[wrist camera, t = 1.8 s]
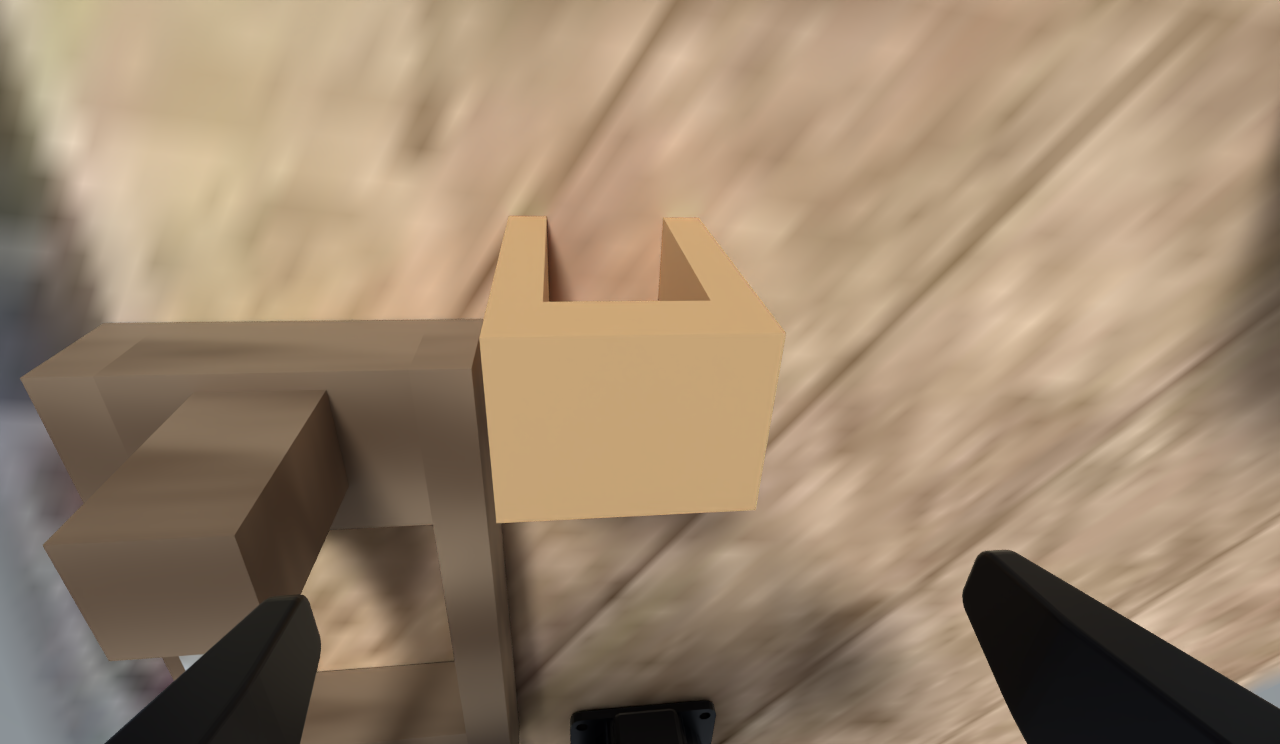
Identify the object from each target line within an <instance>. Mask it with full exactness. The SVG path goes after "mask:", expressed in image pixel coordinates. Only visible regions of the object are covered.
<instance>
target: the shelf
mask: <svg viewBox="0 0 1280 744" xmlns="http://www.w3.org/2000/svg"><path fill="white" fill-rule="evenodd" d="M482 324H483V319H455V320H361V321H268V322H174V323H103V324H102V325H100V326H99V327H97V328H96V329H94V330H93V331H91V332H90V333H88V334H87V335H85V336H83V337H82V338H80V339H79V340H77V341H76V342H74V343H73V344H71V345H70V346H68V347H67V348H65V349H64V350H62V351H61V352H59V353H58V354H56V355H54V356H53V357H51V358H50V359H48V360H47V361H45V362H44V363H42V364H41V365H39V366H38V367H36V368H35V369H33V370H32V371H30V372H28V373H27V374H25V375H24V376H22V377H21V378H20V379H21V381H22V383H23V385H24V387H25V389H26V391H27V393H28V395H29V397H30V398H31V400H32V402H33V404H34V406H35V408H36V410H37V412H38V414H39V416H40V418H41V420H42V422H43V424H44V426H45V428H46V430H47V432H48V434H49V436H50V438H51V440H52V442H53V444H54V446H55V448H56V450H57V452H58V454H59V456H60V457H61V459H62V461H63V463H64V465H65V467H66V469H67V471H68V473H69V475H70V477H71V479H72V481H73V483H74V485H75V487H76V489H77V491H78V493H79V495H80V497H81V499H82V501H83V503H84V504H83V505H82V506H81V507H80V508H79V509H78V510H77V511H76V512H75V513H74V514H73V515H72V516H71V517H70V518H69V519H68V520H67V521H66V522H65V523H64V524H63V525H62V526H61V527H60V528H59V529H58V530H57V531H56V532H55V533H54V534H53V535H52V536H51V537H50V538H49V539H48V540H47V541H46V542H45V543H44V544H43V547H44V549H45V551H46V552H47V554H48V556H49V558H50V559H51V561H52V563H53V564H54V566H55V568H56V570H57V571H58V573H59V575H60V577H61V578H62V580H63V582H64V584H65V585H66V587H67V589H68V591H69V592H70V594H71V596H72V598H73V599H74V601H75V603H76V604H77V606H78V608H79V610H80V611H81V613H82V615H83V617H84V618H85V620H86V622H87V624H88V625H89V627H90V629H91V631H92V632H93V634H94V636H95V638H96V639H97V641H98V643H99V645H100V646H101V648H102V650H103V651H104V653H105V655H106V657H107V658H108V660H109V661H119V660H132V659H146V658H160V657H162V658H163V660H164V662H165V664H166V666H167V668H168V670H169V672H170V674H171V676H172V678H173V680H174V681H175V680H176V679H177V678H178V677H179V676H180V675H181V674H182V673H184V672H185V671H186V670H187V669H188V668H189V667H190V666H191V665H193V664H194V663H195V662H196V661H197V660H198V659H199V658H200V657H201V656H203V655H204V654H205V653H206V652H207V651H208V650H209V649H210V648H211V647H213V646H214V645H215V644H216V643H217V642H218V641H219V640H220V639H221V638H223V637H224V636H225V635H226V634H227V633H228V632H229V631H230V630H231V629H233V628H234V627H235V626H236V625H237V624H238V623H239V622H240V621H241V620H243V619H244V618H245V617H246V616H247V615H248V614H249V613H250V612H251V611H253V610H254V609H255V608H256V607H257V606H258V605H259V604H260V603H262V602H263V601H264V600H266V599H267V598H269V597H272V596H282V595H297V594H301V592H302V590H303V588H304V585H305V583H306V581H307V579H308V577H309V574H310V572H311V570H312V568H313V565H314V563H315V561H316V559H317V556H318V554H319V552H320V550H321V548H322V545H323V543H324V541H325V539H326V536H327V534H328V532H329V530H336V529H355V528H375V527H395V526H414V525H433V528H434V534H435V541H436V547H437V553H438V560H439V566H440V572H441V578H442V585H443V591H444V597H445V604H446V610H447V616H448V623H449V629H450V635H451V641H452V648H453V654H454V660H455V661H454V662H441V663H428V664H416V665H403V666H390V667H377V668H364V669H351V670H339V671H326V672H316V676H315V681H314V685H313V690H312V694H311V698H310V703H309V707H308V711H307V716H306V720H305V725H304V729H303V733H302V738H301V742H300V744H519V731H520V729H519V718H518V706H517V695H516V684H515V672H514V661H513V650H512V638H511V627H510V616H509V604H508V593H507V581H506V570H505V559H504V547H503V536H502V525H501V523H496V513H495V502H494V491H493V480H492V470H491V459H490V448H489V437H488V427H487V416H486V405H485V394H484V384H483V373H482V362H481V351H480V341H479V337H480V333H481V328H482Z"/></svg>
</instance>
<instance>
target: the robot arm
mask: <svg viewBox="0 0 1280 744" xmlns="http://www.w3.org/2000/svg"><path fill="white" fill-rule="evenodd" d="M962 598H963V605H964V608H965V611H966V613H967V616H968V618H969V620H970V622H971V625H972V627H973V629H974V632H975V634H976V636H977V638H978V641H979V643H980V645H981V647H982V650H983V652H984V654H985V656H986V659H987V661H988V663H989V666H990V668H991V670H992V672H993V675H994V677H995V679H996V681H997V684H998V686H999V688H1000V690H1001V693H1002V695H1003V697H1004V699H1005V702H1006V704H1007V706H1008V708H1009V710H1010V712H1011V714H1012V716H1013V718H1014V720H1015V722H1016V724H1017V726H1018V728H1019V730H1020V731H1021V733H1022V735H1023V737H1024V739H1025V741H1026V742H1027V744H1280V709H1279V708H1278V707H1276V706H1274V705H1273V704H1271V703H1269V702H1267V701H1266V700H1264V699H1262V698H1260V697H1259V696H1257V695H1256V694H1254V693H1252V692H1251V691H1249V690H1247V689H1246V688H1244V687H1242V686H1240V685H1239V684H1237V683H1235V682H1234V681H1232V680H1230V679H1229V678H1227V677H1225V676H1224V675H1222V674H1220V673H1219V672H1217V671H1215V670H1213V669H1212V668H1210V667H1208V666H1207V665H1205V664H1203V663H1202V662H1200V661H1198V660H1197V659H1195V658H1193V657H1192V656H1190V655H1188V654H1186V653H1185V652H1183V651H1181V650H1180V649H1178V648H1176V647H1175V646H1173V645H1171V644H1170V643H1168V642H1166V641H1165V640H1163V639H1161V638H1159V637H1158V636H1156V635H1154V634H1153V633H1151V632H1149V631H1148V630H1146V629H1144V628H1143V627H1141V626H1139V625H1138V624H1136V623H1134V622H1132V621H1131V620H1129V619H1127V618H1126V617H1124V616H1122V615H1121V614H1119V613H1117V612H1116V611H1114V610H1112V609H1110V608H1109V607H1107V606H1105V605H1104V604H1102V603H1100V602H1099V601H1097V600H1095V599H1094V598H1092V597H1090V596H1089V595H1087V594H1085V593H1083V592H1082V591H1080V590H1078V589H1077V588H1075V587H1073V586H1072V585H1070V584H1068V583H1067V582H1065V581H1063V580H1062V579H1060V578H1058V577H1056V576H1055V575H1053V574H1051V573H1050V572H1048V571H1046V570H1045V569H1043V568H1041V567H1040V566H1038V565H1036V564H1035V563H1033V562H1031V561H1029V560H1028V559H1026V558H1024V557H1023V556H1021V555H1019V554H1018V553H1016V552H1014V551H1011V550H993V551H984V552H981V553H980V554H979V555H978V556H977V558H976V560H975V562H974V565H973V567H972V570H971V572H970V574H969V577H968V579H967V582H966V584H965V586H964V589H963V594H962ZM320 652H321V640H320V635H319V632H318V629H317V625H316V622H315V619H314V616H313V612H312V609H311V606H310V603H309V601H308V599H307V598H306V597H305V596H304V595H300V594H297V595H282V596H272V597H269V598H267V599H266V600H264V601H263V602H262V603H260V604H259V605H258V606H257V607H256V608H255V609H254V610H253V611H251V612H250V613H249V614H248V615H247V616H246V617H245V618H244V619H243V620H241V621H240V622H239V623H238V624H237V625H236V626H235V627H234V628H233V629H231V630H230V631H229V632H228V633H227V634H226V635H225V636H224V637H223V638H221V639H220V640H219V641H218V642H217V643H216V644H215V645H214V646H213V647H211V648H210V649H209V650H208V651H207V652H206V653H205V654H204V655H203V656H201V657H200V658H199V659H198V660H197V661H196V662H195V663H194V664H193V665H191V666H190V667H189V668H188V669H187V670H186V671H185V672H184V673H182V674H181V675H180V676H179V677H178V678H177V679H176V680H175V681H174V682H172V683H171V684H170V685H169V686H168V687H167V688H166V689H165V690H164V691H162V692H161V693H160V694H159V695H158V696H157V697H156V698H155V699H154V700H152V701H151V702H150V703H149V704H148V705H147V706H146V707H145V708H144V709H142V710H141V711H140V712H139V713H138V714H137V715H136V716H135V717H134V718H132V719H131V720H130V721H129V722H128V723H127V724H126V725H125V726H124V727H122V728H121V729H120V730H119V731H118V732H117V733H116V734H115V735H113V736H112V737H111V738H110V739H109V740H108V741H107V742H106V743H105V744H300V742H301V738H302V733H303V729H304V725H305V720H306V716H307V711H308V707H309V703H310V698H311V694H312V690H313V685H314V681H315V676H316V672H317V668H318V663H319V659H320ZM715 717H716V713H715V708H714V704H713V703H712V702H710V701H694V702H683V703H672V704H661V705H650V706H639V707H628V708H616V709H605V710H594V711H583V712H578V713H575V714H573V715H572V716H571V719H570V734H571V744H711V741H712V735H713V729H714V723H715Z"/></svg>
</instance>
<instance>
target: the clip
mask: <svg viewBox="0 0 1280 744" xmlns="http://www.w3.org/2000/svg"><path fill="white" fill-rule="evenodd" d="M785 336H786V333H785V331H784V330H783V329H782V327H781V326H780V325H779V323H778V322H777V321H776V319H775V318H774V317H773V316H772V314H771V313H770V312H769V310H768V309H767V308H766V306H765V305H764V304H763V302H762V301H761V300H760V298H759V297H758V296H757V294H756V293H755V292H754V290H753V289H752V288H751V286H750V285H749V284H748V283H747V281H746V280H745V279H744V277H743V276H742V275H741V273H740V272H739V271H738V269H737V268H736V267H735V265H734V264H733V263H732V261H731V260H730V259H729V257H728V256H727V255H726V253H725V252H724V251H723V250H722V248H721V247H720V246H719V244H718V243H717V242H716V240H715V239H714V238H713V236H712V235H711V234H710V232H709V231H708V230H707V228H706V227H705V226H704V224H703V223H702V222H701V220H700V219H699V218H663V230H662V246H661V263H660V280H659V296H658V301H591V302H549V281H548V249H547V217H546V216H509V217H508V222H507V226H506V230H505V234H504V238H503V242H502V246H501V250H500V254H499V259H498V263H497V267H496V271H495V275H494V279H493V283H492V287H491V291H490V296H489V300H488V304H487V308H486V312H485V316H484V320H483V324H482V328H481V333H480V337H479V341H480V351H481V362H482V373H483V384H484V394H485V405H486V416H487V427H488V437H489V448H490V459H491V470H492V480H493V491H494V502H495V513H496V523H512V522H531V521H551V520H570V519H590V518H609V517H629V516H649V515H668V514H688V513H707V512H727V511H746V510H756V505H757V499H758V493H759V487H760V481H761V476H762V470H763V464H764V458H765V452H766V447H767V441H768V435H769V429H770V423H771V417H772V412H773V406H774V400H775V394H776V388H777V383H778V377H779V371H780V365H781V359H782V354H783V348H784V342H785Z"/></svg>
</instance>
